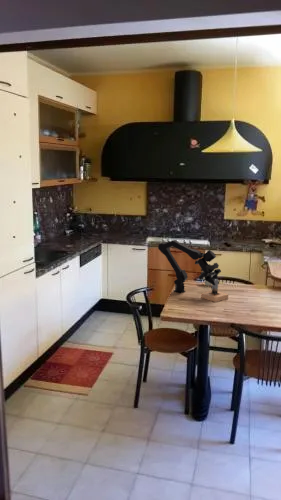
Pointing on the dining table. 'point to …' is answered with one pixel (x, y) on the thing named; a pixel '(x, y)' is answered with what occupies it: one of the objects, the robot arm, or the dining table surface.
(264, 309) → the dining table surface
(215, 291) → the cylinder
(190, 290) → the dining table surface
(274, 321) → the dining table surface
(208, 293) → the docking socket
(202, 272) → the pneumatic valve
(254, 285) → the dining table surface
